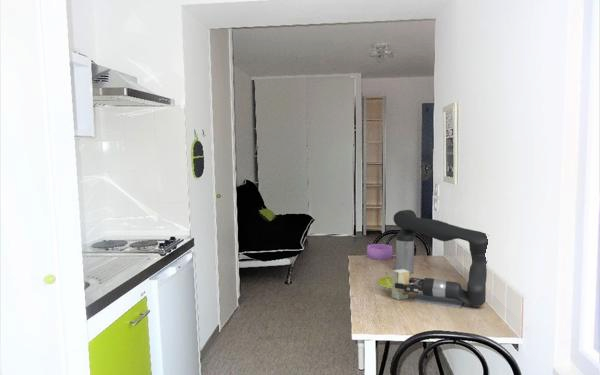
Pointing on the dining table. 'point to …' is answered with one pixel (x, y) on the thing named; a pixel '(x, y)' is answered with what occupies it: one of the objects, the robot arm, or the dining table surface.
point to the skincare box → (399, 277)
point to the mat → (438, 300)
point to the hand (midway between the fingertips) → (397, 282)
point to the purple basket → (379, 251)
